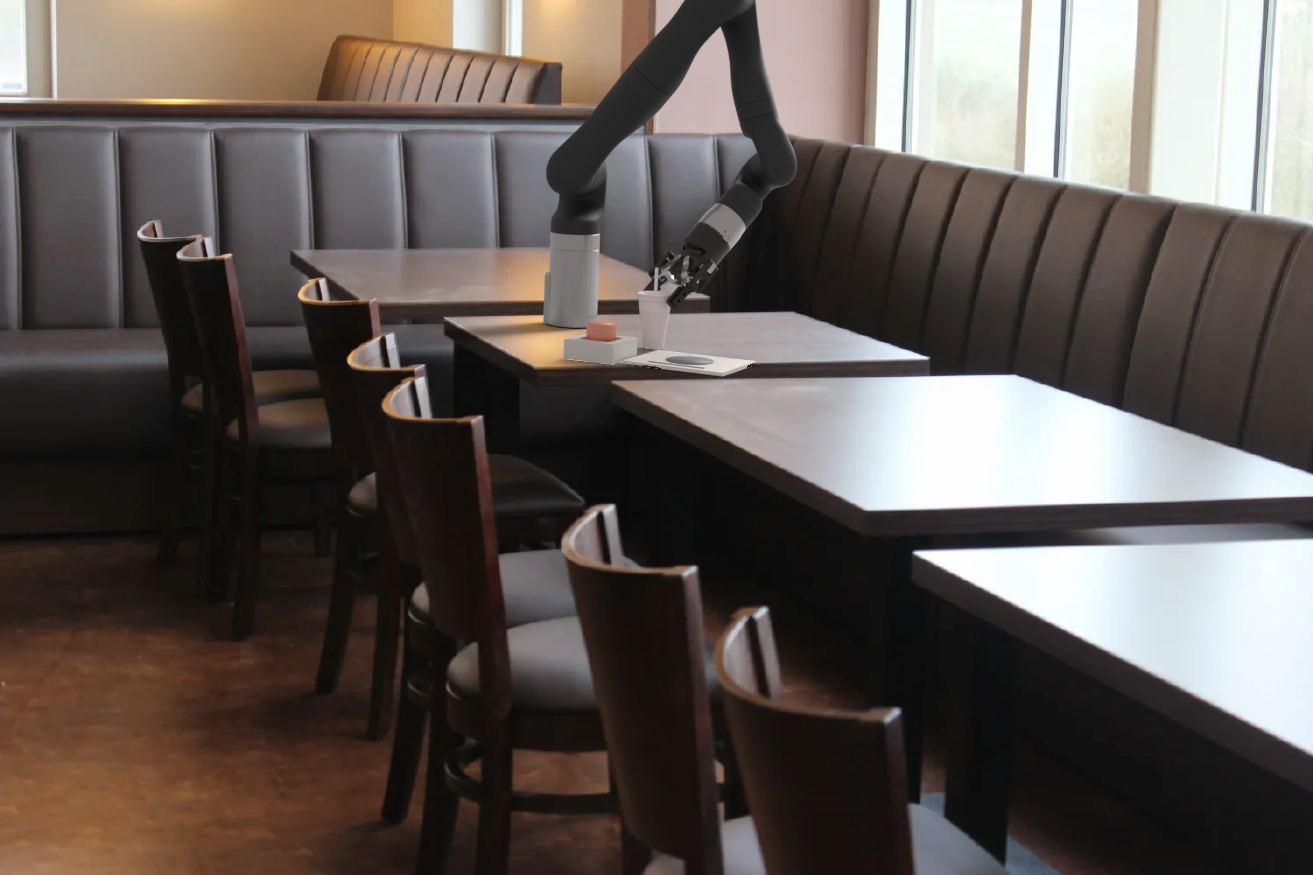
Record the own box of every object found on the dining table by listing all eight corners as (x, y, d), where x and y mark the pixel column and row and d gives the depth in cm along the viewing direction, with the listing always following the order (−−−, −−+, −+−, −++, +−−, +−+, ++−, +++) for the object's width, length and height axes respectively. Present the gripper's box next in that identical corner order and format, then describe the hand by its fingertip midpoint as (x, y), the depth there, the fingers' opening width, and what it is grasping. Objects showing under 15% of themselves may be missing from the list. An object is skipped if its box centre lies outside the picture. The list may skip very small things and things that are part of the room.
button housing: (563, 359, 281) (564, 338, 280) (589, 352, 289) (589, 332, 288) (612, 365, 277) (613, 344, 277) (636, 358, 285) (637, 337, 284)
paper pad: (621, 364, 279) (622, 359, 279) (658, 353, 292) (658, 349, 292) (722, 376, 272) (722, 372, 272) (756, 364, 284) (756, 360, 284)
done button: (580, 344, 281) (581, 323, 281) (594, 340, 286) (595, 320, 285) (607, 347, 279) (608, 326, 279) (621, 344, 284) (622, 323, 283)
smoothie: (672, 346, 299) (676, 267, 296) (669, 352, 293) (673, 271, 290) (636, 344, 300) (639, 265, 297) (632, 350, 294) (635, 269, 291)
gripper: (679, 216, 303) (622, 283, 299) (725, 224, 291) (666, 293, 287) (703, 246, 306) (646, 312, 303) (749, 254, 295) (691, 323, 291)
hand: (656, 302), depth 295 cm, fingers open, 8 cm apart
